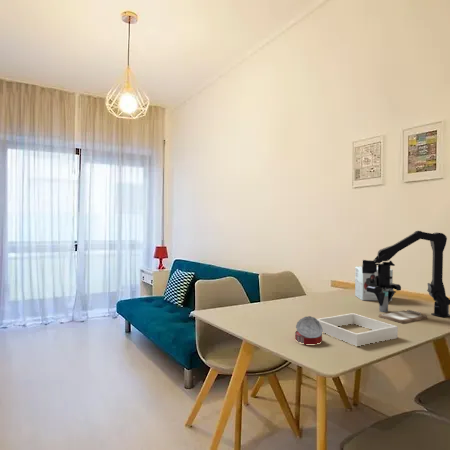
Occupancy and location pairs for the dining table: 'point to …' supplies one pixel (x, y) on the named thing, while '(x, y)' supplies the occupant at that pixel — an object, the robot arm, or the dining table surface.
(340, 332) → the lotus tray rim
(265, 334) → the dining table surface
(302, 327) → the canned food
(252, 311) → the dining table surface
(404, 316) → the clipboard
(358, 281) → the supplement box
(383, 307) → the marker
